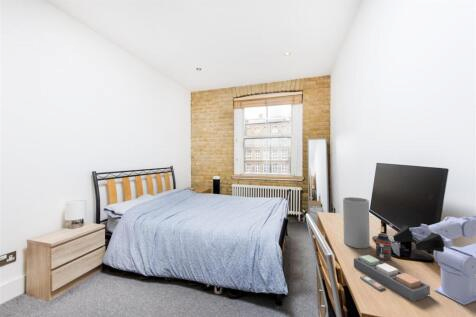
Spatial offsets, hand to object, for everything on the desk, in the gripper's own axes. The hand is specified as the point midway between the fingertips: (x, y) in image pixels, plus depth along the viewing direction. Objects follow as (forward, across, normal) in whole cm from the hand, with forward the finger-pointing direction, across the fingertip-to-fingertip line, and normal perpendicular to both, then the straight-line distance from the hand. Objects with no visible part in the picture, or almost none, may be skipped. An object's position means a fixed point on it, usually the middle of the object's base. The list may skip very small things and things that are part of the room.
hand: (405, 242), depth 67 cm
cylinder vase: (-14, -45, +20) cm, 51 cm away
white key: (-2, -14, +18) cm, 23 cm away
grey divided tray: (-2, -14, +20) cm, 25 cm away
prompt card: (+6, -13, +19) cm, 24 cm away
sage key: (-1, -21, +18) cm, 28 cm away
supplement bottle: (-15, -29, +21) cm, 39 cm away
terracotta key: (-4, -7, +19) cm, 20 cm away
